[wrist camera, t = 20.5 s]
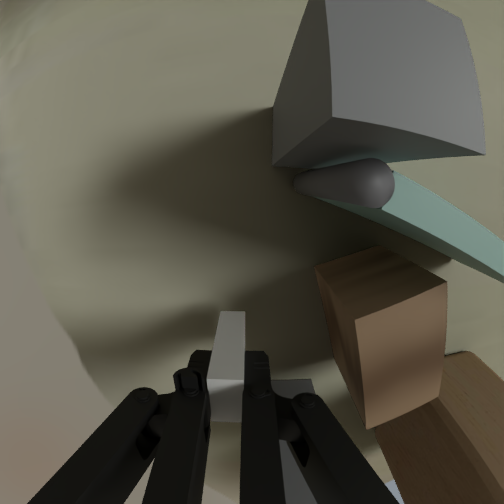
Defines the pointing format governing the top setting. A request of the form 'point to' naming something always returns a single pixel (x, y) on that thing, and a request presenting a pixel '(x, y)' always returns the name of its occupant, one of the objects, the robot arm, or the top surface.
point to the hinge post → (377, 86)
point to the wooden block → (451, 439)
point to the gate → (405, 211)
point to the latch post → (295, 486)
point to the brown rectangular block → (385, 330)
